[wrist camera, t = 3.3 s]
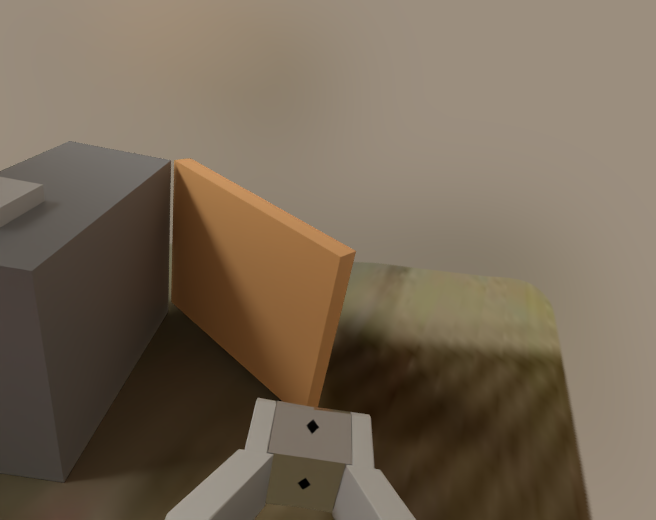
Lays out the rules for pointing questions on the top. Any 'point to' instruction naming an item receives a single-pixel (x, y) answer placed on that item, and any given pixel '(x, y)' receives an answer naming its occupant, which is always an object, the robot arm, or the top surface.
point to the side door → (257, 281)
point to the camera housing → (75, 295)
